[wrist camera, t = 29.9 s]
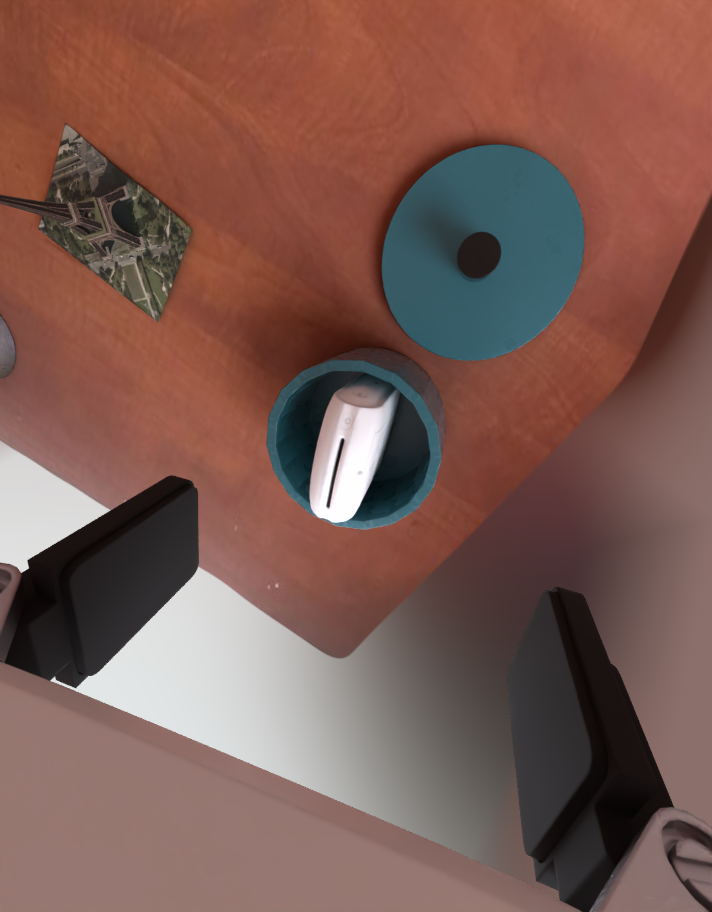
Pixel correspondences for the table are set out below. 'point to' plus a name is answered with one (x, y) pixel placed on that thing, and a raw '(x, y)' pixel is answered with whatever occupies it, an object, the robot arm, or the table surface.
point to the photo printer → (351, 446)
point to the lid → (483, 252)
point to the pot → (407, 450)
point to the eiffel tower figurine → (110, 224)
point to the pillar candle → (6, 350)
